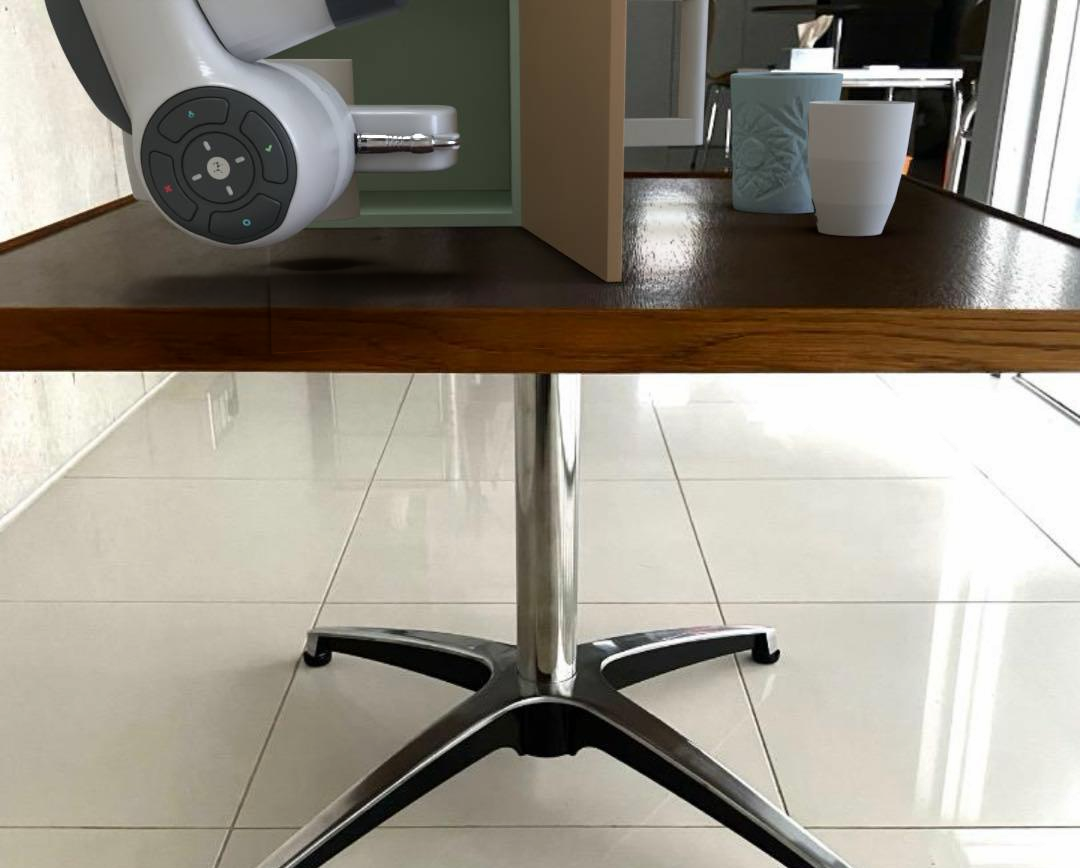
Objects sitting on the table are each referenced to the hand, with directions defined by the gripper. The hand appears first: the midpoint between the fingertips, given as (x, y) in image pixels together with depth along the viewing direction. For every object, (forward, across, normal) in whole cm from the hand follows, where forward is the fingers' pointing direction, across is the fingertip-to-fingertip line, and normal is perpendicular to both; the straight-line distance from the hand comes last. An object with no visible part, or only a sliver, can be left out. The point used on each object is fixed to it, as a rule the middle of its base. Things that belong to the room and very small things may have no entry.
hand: (311, 130), depth 82 cm
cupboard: (+29, -1, +9) cm, 30 cm away
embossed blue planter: (+31, -39, +9) cm, 50 cm away
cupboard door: (+5, -20, +9) cm, 22 cm away
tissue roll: (-1, 0, +6) cm, 6 cm away
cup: (+14, -41, +9) cm, 44 cm away
